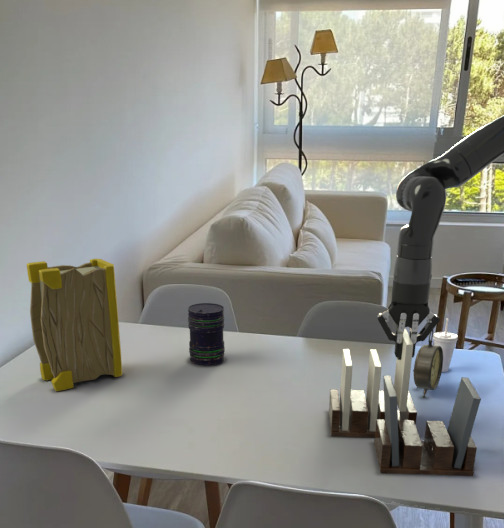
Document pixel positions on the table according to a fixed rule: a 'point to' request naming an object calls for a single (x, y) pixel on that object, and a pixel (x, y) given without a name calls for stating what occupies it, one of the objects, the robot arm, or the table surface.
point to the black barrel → (206, 334)
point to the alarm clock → (428, 366)
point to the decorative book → (75, 321)
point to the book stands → (402, 438)
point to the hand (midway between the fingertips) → (403, 358)
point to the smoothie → (445, 345)
